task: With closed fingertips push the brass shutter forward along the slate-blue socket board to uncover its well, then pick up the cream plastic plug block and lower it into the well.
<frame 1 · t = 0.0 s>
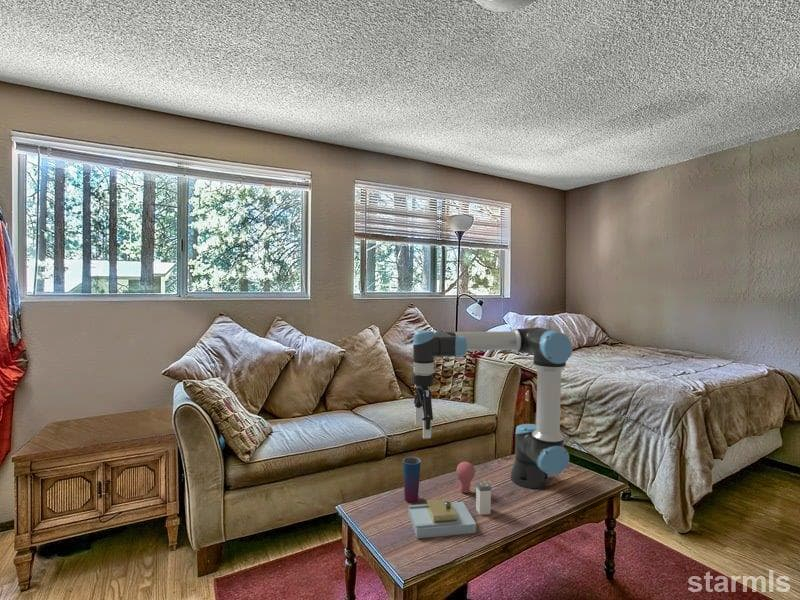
hand: (422, 431, 151), 28 cm above the table, fingers open, 13 cm apart
shutter: (441, 508, 141), point 5 cm above the table, slide at 0.0 cm
socket board: (441, 523, 142), on the table
plug: (483, 511, 149), on the table
cup: (411, 499, 157), on the table
light bulb: (465, 492, 163), on the table
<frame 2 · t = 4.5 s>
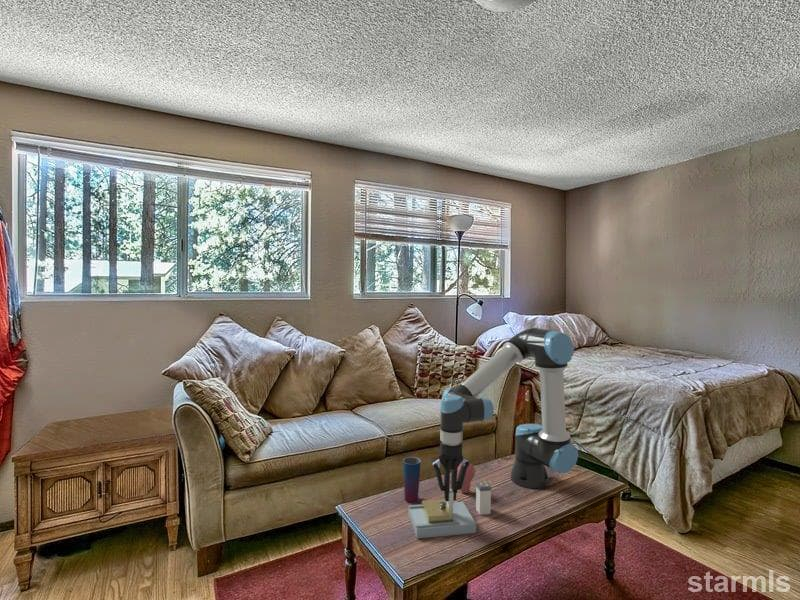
hand: (450, 509, 142), 5 cm above the table, fingers closed
shutter: (436, 509, 141), point 5 cm above the table, slide at 1.7 cm, touching gripper
everything else where it was.
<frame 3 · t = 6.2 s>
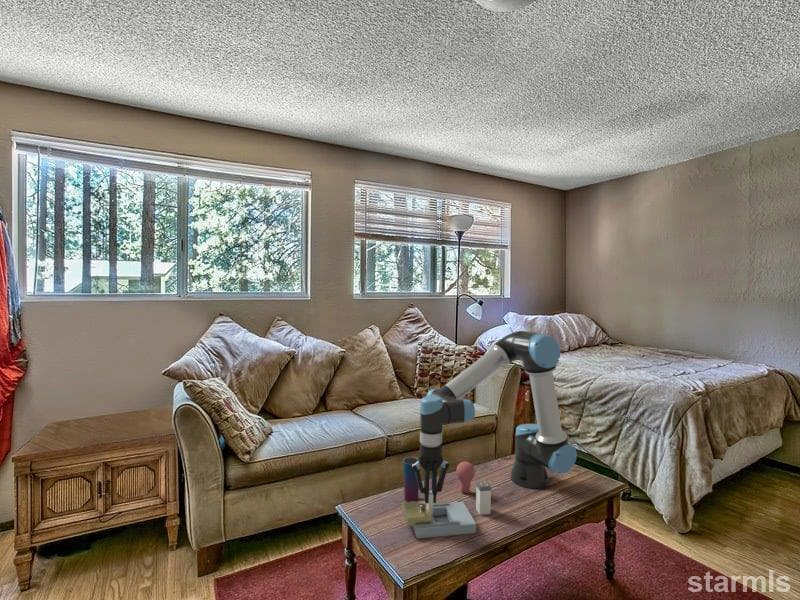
hand: (430, 511, 141), 4 cm above the table, fingers closed
shutter: (416, 510, 140), point 5 cm above the table, slide at 8.7 cm, touching gripper
everything else where it was.
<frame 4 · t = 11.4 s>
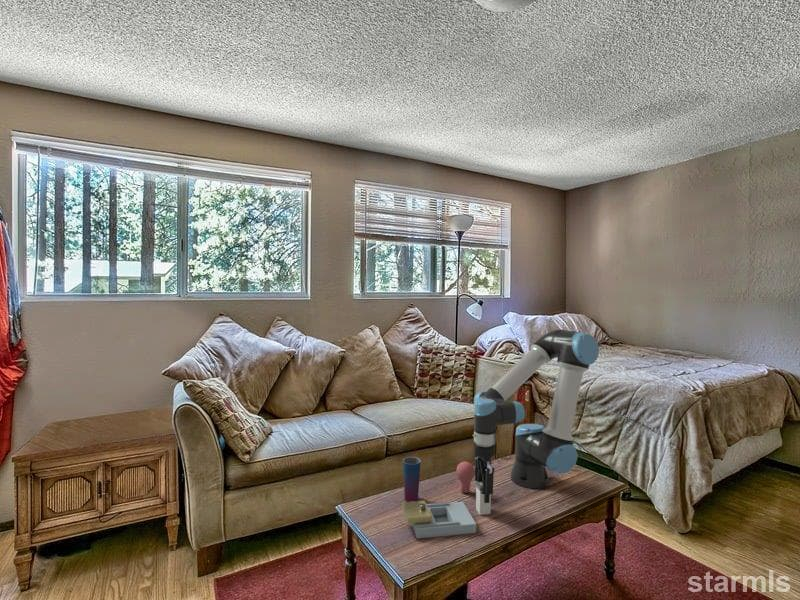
hand: (483, 506, 149), 2 cm above the table, fingers closed on plug, 4 cm apart
shutter: (416, 510, 140), point 5 cm above the table, slide at 8.7 cm
plug: (483, 511, 149), on the table, touching gripper
everything else where it was.
when the fingers open (4 cm above the table, at t = 16.8 s): plug drops 2 cm, resting on socket board.
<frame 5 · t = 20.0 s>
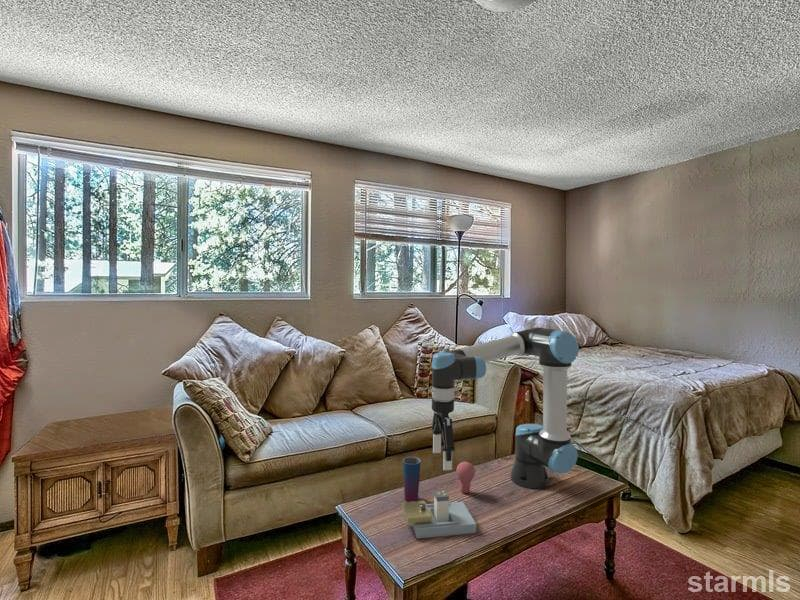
hand: (442, 460, 141), 22 cm above the table, fingers open, 13 cm apart
plug: (441, 522, 142), resting on socket board
everything else where it was.
at the end: plug 0.0 cm off-centre on the socket board, point 0.3 cm above the socket board's base; plug tilted 0°; shutter slide at 8.7 cm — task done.
